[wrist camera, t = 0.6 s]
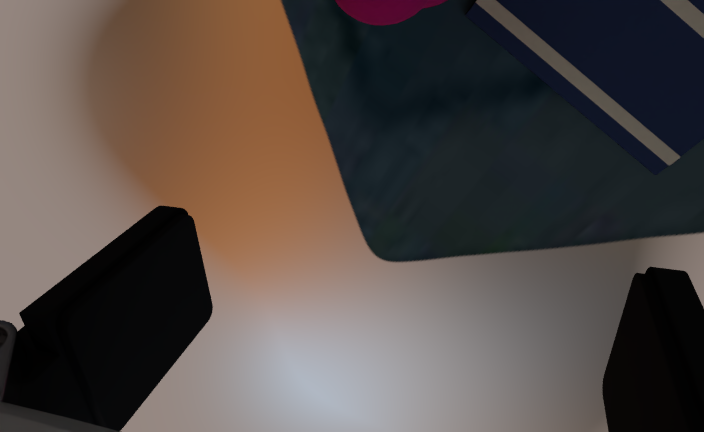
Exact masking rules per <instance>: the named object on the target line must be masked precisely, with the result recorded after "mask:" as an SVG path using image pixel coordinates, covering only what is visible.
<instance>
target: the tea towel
mask: <svg viewBox="0 0 704 432" xmlns="http://www.w3.org/2000/svg"><path fill="white" fill-rule="evenodd" d="M465 16H466V17H468V18H469V19H470V20H471V21H472V22H473V23H475V24H476V25H477V26H478V27H479V28H481V29H482V30H483V31H484V32H485V33H487V34H488V35H489V36H490V37H491V38H493V39H494V40H495V41H496V42H497V43H499V44H500V45H501V46H502V47H503V48H504V49H506V50H507V51H508V52H509V53H510V54H512V55H513V56H514V57H515V58H516V59H518V60H519V61H520V62H521V63H522V64H524V65H525V66H526V67H527V68H528V69H529V70H531V71H532V72H533V73H534V74H535V75H537V76H538V77H539V78H540V79H541V80H543V81H544V82H545V83H546V84H547V85H549V86H550V87H551V88H552V89H553V90H554V91H556V92H557V93H558V94H559V95H560V96H562V97H563V98H564V99H565V100H566V101H568V102H569V103H570V104H571V105H572V106H574V107H575V108H576V109H577V110H578V111H579V112H581V113H582V114H583V115H584V116H585V117H587V118H588V119H589V120H590V121H591V122H593V123H594V124H595V125H596V126H597V127H599V128H600V129H601V130H602V131H603V132H604V133H606V134H607V135H608V136H609V137H610V138H612V139H613V140H614V141H615V142H616V143H618V144H619V145H620V146H621V147H622V148H624V149H625V150H626V151H627V152H628V153H629V154H631V155H632V156H633V157H634V158H635V159H637V160H638V161H639V162H640V163H641V164H643V165H644V166H645V167H646V168H647V169H649V170H650V171H651V172H652V173H653V174H654V175H657V174H658V173H659V172H661V171H662V170H663V169H665V168H666V167H667V166H670V165H671V164H672V163H674V162H675V161H676V160H678V159H679V158H680V156H682V155H683V154H684V153H686V152H687V151H688V150H689V149H691V148H692V147H693V146H695V145H696V144H697V143H699V142H700V141H701V140H702V139H704V0H477V1H476V2H475V3H474V4H473V6H472V7H471V8H470V9H469V11H468V12H467V13H466V15H465Z"/></svg>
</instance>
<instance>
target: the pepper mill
mask: <svg viewBox="0 0 704 432" xmlns="http://www.w3.org/2000/svg"><path fill="white" fill-rule="evenodd" d="M335 1H336V3H337V4H338V5H339V7H340V8H341V9H342V10H344V11H345V12H346V13H347V14H348V15H350V16H351V17H353V18H355V19H357V20H358V21H361V22H364V23H367V24H371V25H389V24H395V23H399V22H402V21H404V20H406V19H408V18H410V17H412V16H413V15H415V14H416V13H417V12H418V11H420V10H421V9H422V8H428V7H432V6H436V5H439V4H441V3H443V2H445V1H447V0H335Z"/></svg>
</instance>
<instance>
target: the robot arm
mask: <svg viewBox="0 0 704 432" xmlns="http://www.w3.org/2000/svg"><path fill="white" fill-rule="evenodd" d="M212 308H213V307H212V301H211V296H210V292H209V287H208V282H207V278H206V274H205V269H204V264H203V260H202V255H201V251H200V246H199V242H198V237H197V232H196V228H195V224H194V220H193V218H192V217H191V216H189V215H188V213H187V211H186V210H185V209H183V208H177V207H169V206H158V207H156V208H155V209H154V210H152V211H151V212H150V213H148V214H147V215H146V216H144V217H143V218H142V219H140V220H139V221H138V222H137V223H135V224H134V225H133V226H132V227H130V228H129V229H128V230H126V231H125V232H124V233H122V234H121V235H120V236H118V237H117V238H116V239H115V240H113V241H112V242H111V243H109V244H108V245H107V246H105V247H104V248H103V249H102V250H100V251H99V252H98V253H97V254H95V255H94V256H92V257H91V258H90V259H89V260H87V261H86V262H85V263H83V264H82V265H81V266H80V267H78V268H77V269H76V270H74V271H73V272H72V273H71V274H69V275H68V276H67V277H66V278H64V279H63V280H62V281H60V282H59V283H57V284H56V285H55V286H54V287H52V288H51V289H50V290H48V291H47V292H46V293H45V294H43V295H42V296H41V297H39V298H38V299H37V300H35V301H34V302H33V303H32V304H30V305H29V306H28V307H26V308H25V309H24V310H22V311H21V312H20V313H19V314H20V316H21V318H22V321H23V323H24V325H25V326H24V327H23V328H21V329H20V330H19V331H17V329H16V328H15V326H14V325H13V324H12V323H10V322H6V321H1V320H0V432H120V430H121V429H122V428H123V427H124V426H125V425H126V423H127V422H128V421H129V419H130V418H131V417H132V416H133V414H134V413H135V412H136V411H137V410H138V408H139V407H140V406H141V404H142V403H143V402H144V401H145V400H146V398H147V397H148V396H149V394H150V393H151V392H152V391H153V389H154V388H155V387H156V386H157V384H158V383H159V382H160V381H161V379H162V378H163V377H164V376H165V374H166V373H167V372H168V371H169V369H170V368H171V367H172V366H173V364H174V363H175V362H176V361H177V359H178V358H179V357H180V356H181V354H182V353H183V352H184V351H185V349H186V348H187V347H188V345H189V344H190V343H191V342H192V341H193V339H194V338H195V337H196V336H197V334H198V333H199V332H200V331H201V329H202V328H203V327H204V326H205V324H206V323H207V322H208V320H209V319H210V317H211V314H212ZM603 400H604V406H605V412H606V418H607V424H608V431H609V432H704V309H703V306H702V304H701V302H700V300H699V297H698V295H697V293H696V291H695V289H694V286H693V284H692V282H691V280H690V278H689V276H688V274H687V273H686V272H685V271H680V270H671V269H664V268H656V267H649V268H648V269H647V271H646V273H645V274H641V273H636V274H635V275H634V277H633V280H632V283H631V287H630V290H629V293H628V297H627V300H626V304H625V307H624V310H623V314H622V317H621V320H620V323H619V327H618V330H617V334H616V337H615V340H614V344H613V347H612V351H611V354H610V357H609V360H608V364H607V367H606V370H605V374H604V378H603Z"/></svg>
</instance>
